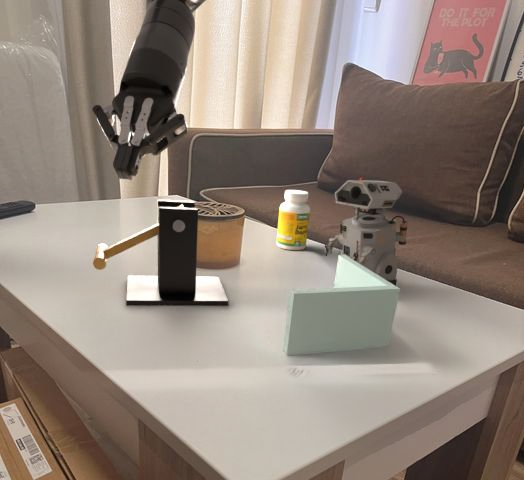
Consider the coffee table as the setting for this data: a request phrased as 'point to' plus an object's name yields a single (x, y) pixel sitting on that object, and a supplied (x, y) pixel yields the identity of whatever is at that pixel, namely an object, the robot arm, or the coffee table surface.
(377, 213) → the figurine
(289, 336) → the l-shaped corner panel
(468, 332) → the coffee table surface
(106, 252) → the tap lever
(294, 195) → the supplement bottle
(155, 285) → the bracket
